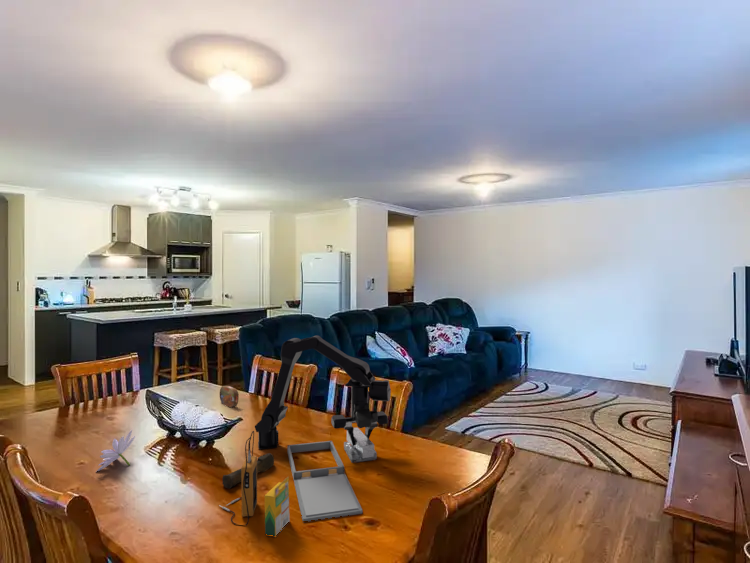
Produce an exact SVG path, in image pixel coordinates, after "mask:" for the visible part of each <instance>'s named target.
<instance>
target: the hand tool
mask: <svg viewBox="0 0 750 563" xmlns="http://www.w3.org/2000/svg"><path fill="white" fill-rule="evenodd" d="M274 464H275V458H274V455H273V453H270V452H269V453H265V454H262V455H260V456H259V457H258V456H257V474H258V473H265V472H266V471H268V470H270V468H272V467H273V466H274ZM221 480H222V485H223V487H224V488H226V489H232V488H233V487H236V485H238V484H239V483H242V481H241V468H239V469H237V470H235V471H233V472H231V473H229V474H223V476H222V479H221Z"/></svg>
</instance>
